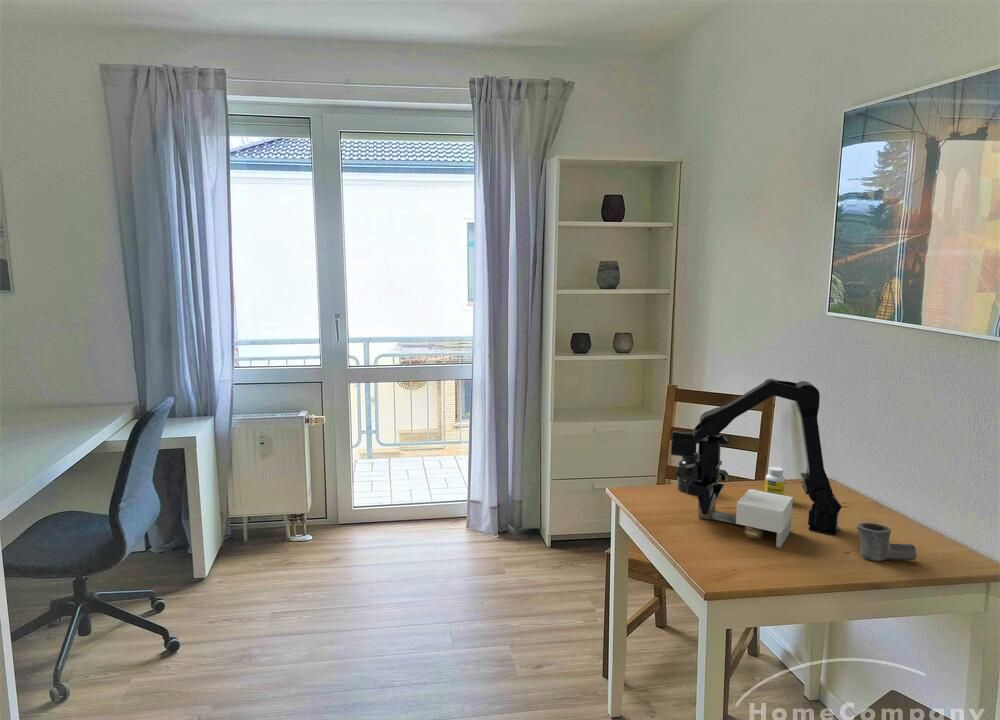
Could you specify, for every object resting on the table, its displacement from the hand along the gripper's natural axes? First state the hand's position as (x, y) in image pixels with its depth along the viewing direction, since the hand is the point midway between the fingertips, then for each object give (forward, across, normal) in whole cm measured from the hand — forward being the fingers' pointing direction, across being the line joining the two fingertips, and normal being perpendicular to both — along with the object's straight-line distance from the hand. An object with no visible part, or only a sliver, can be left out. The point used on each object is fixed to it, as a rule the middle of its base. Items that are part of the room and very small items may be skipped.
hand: (706, 511), depth 184 cm
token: (+2, +5, +14) cm, 15 cm away
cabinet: (+2, +4, +16) cm, 16 cm away
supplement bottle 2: (+2, -26, +12) cm, 29 cm away
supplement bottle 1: (+2, -20, -12) cm, 23 cm away
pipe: (+2, +2, +43) cm, 43 cm away
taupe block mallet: (+1, 0, +6) cm, 6 cm away
